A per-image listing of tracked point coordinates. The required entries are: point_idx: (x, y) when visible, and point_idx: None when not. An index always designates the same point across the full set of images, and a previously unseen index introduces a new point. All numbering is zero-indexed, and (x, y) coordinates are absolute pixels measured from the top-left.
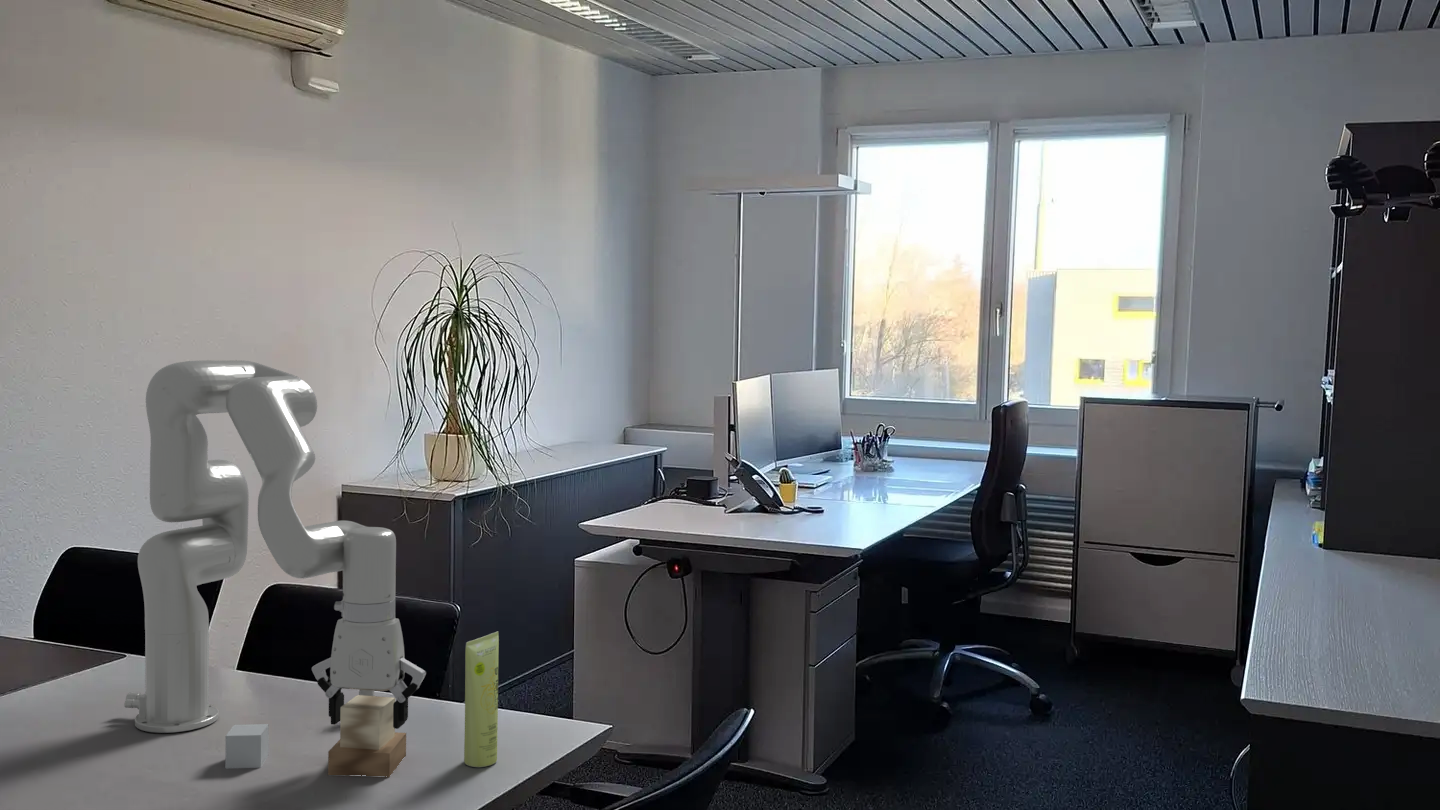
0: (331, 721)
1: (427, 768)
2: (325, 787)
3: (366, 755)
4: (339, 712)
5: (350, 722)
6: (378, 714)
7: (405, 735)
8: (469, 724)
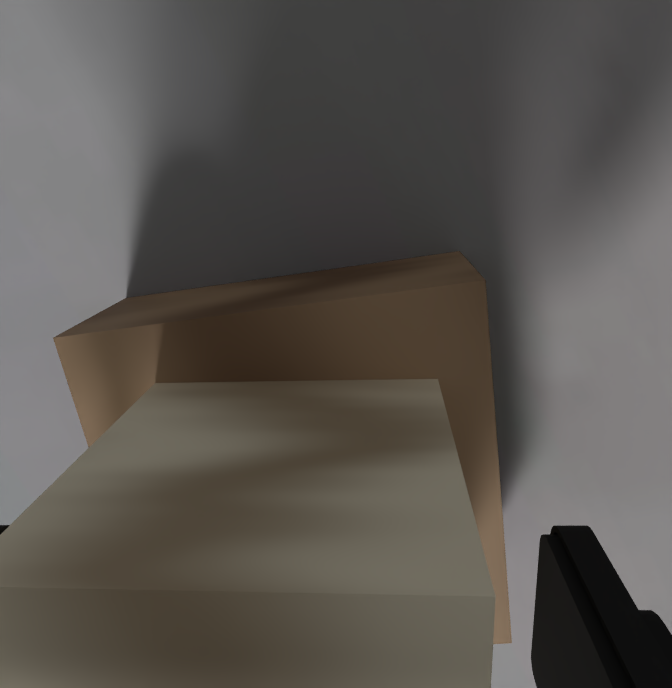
0: (587, 535)
1: (19, 443)
2: (392, 64)
3: (213, 312)
4: (561, 663)
5: (354, 481)
6: (1, 547)
7: None
8: None
